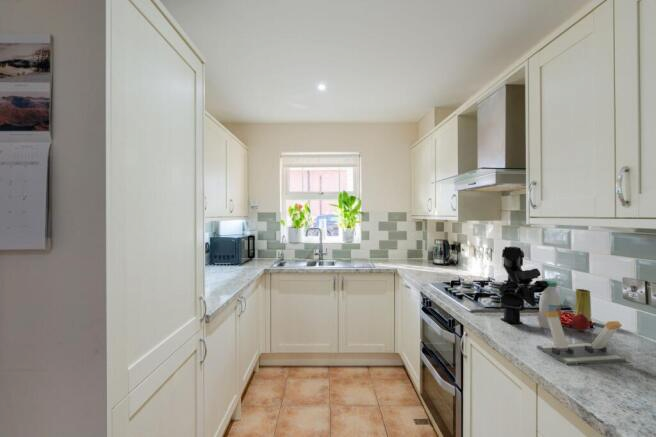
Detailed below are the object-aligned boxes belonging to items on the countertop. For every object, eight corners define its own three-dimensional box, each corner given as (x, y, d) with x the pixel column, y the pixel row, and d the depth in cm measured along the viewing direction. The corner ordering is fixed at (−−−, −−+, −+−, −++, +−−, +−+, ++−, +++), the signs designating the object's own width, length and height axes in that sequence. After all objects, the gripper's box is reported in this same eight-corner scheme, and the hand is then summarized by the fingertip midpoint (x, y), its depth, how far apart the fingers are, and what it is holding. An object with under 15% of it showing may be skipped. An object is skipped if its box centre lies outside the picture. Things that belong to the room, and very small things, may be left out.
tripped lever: (556, 351, 112) (544, 312, 117) (566, 351, 113) (554, 311, 118) (560, 351, 111) (548, 311, 116) (569, 351, 111) (557, 311, 116)
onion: (582, 329, 136) (583, 310, 136) (592, 334, 131) (593, 315, 130) (568, 328, 137) (568, 310, 137) (577, 333, 131) (577, 314, 131)
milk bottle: (540, 328, 137) (540, 282, 136) (537, 322, 144) (538, 279, 143) (561, 331, 133) (562, 284, 133) (558, 325, 140) (559, 280, 140)
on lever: (588, 347, 114) (607, 321, 107) (597, 346, 115) (617, 321, 107) (591, 351, 113) (611, 325, 106) (601, 350, 113) (621, 325, 106)
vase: (577, 322, 144) (578, 291, 144) (571, 318, 150) (572, 288, 149) (593, 324, 142) (594, 292, 142) (586, 319, 148) (587, 289, 148)
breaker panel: (536, 347, 118) (536, 341, 118) (589, 344, 120) (590, 338, 120) (566, 364, 105) (567, 357, 105) (625, 361, 107) (625, 354, 107)
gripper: (504, 262, 129) (523, 296, 118) (546, 261, 131) (568, 294, 120) (491, 277, 137) (508, 310, 126) (531, 276, 139) (551, 308, 128)
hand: (534, 305), depth 125 cm, fingers closed
